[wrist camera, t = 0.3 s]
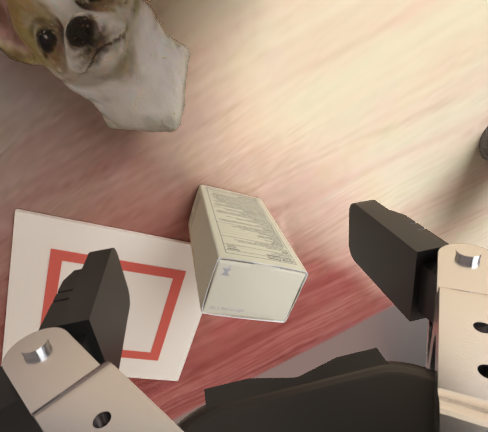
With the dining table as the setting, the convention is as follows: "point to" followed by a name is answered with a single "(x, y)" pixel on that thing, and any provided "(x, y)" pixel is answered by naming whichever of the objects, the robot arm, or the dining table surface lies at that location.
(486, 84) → the dining table surface
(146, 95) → the ceramic sculpture
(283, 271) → the skincare box
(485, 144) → the beverage cup
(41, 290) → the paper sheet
